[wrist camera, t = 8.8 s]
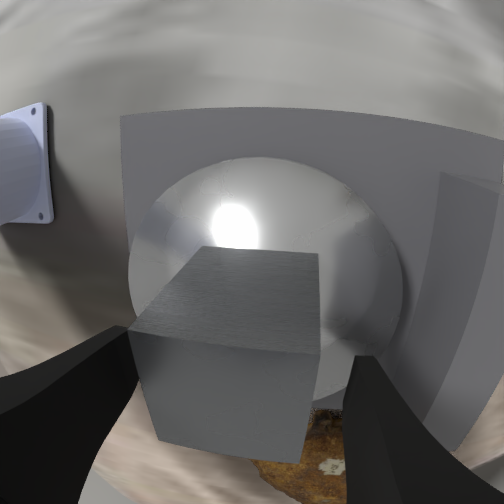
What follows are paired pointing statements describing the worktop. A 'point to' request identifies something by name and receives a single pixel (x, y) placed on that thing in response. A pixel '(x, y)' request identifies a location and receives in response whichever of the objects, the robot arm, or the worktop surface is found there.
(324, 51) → the worktop surface
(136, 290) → the pan
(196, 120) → the scale
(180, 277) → the block
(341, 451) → the decorative rock
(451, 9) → the worktop surface
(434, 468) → the robot arm
